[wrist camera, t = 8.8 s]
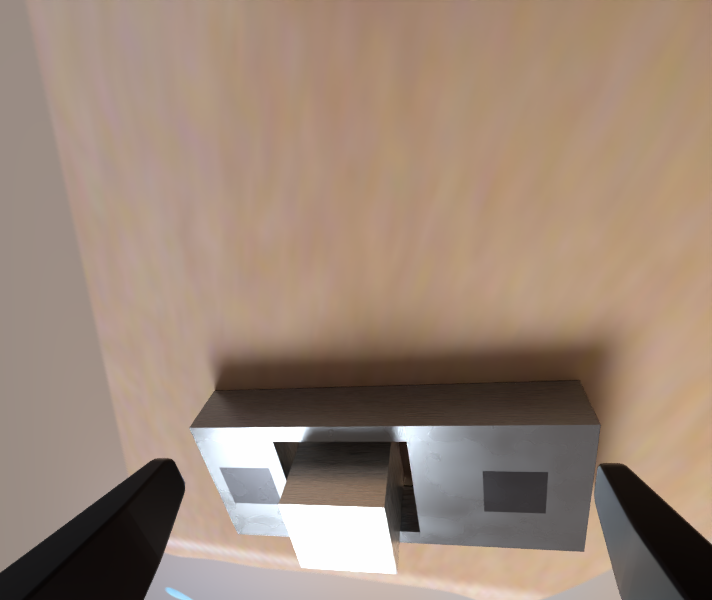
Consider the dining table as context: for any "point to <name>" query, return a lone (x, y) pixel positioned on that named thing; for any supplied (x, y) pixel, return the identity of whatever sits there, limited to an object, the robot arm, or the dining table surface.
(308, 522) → the block
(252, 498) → the grey slotted board
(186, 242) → the dining table surface
